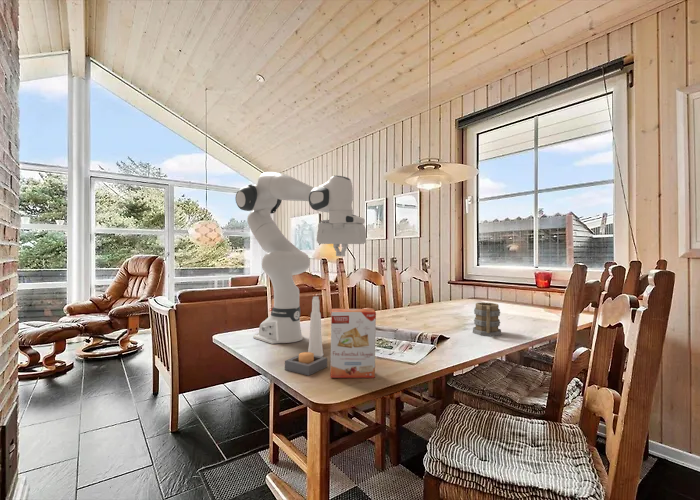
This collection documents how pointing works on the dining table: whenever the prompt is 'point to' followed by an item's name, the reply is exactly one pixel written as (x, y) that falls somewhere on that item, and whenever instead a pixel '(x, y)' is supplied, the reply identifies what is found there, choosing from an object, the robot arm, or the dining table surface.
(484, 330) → the tankard
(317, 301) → the cosmetic bottle
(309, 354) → the button
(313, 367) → the gray square tray
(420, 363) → the dining table surface
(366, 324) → the cracker box
